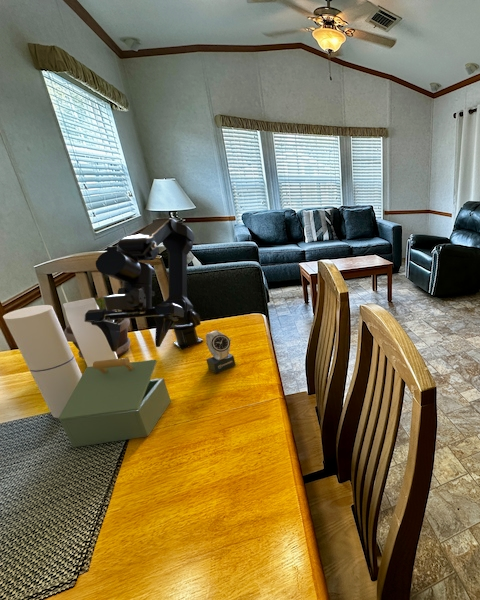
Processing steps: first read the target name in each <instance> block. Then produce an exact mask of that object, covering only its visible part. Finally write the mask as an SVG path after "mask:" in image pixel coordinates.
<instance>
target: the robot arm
mask: <svg viewBox="0 0 480 600" xmlns="http://www.w3.org/2000/svg"><path fill="white" fill-rule="evenodd" d="M194 241H195V234H194V232H193V230H191V228H190V227H189V226H188V225H185V224H183V223H182V222H181V223H180V222H179V221H177V220H175V219H174V218H171V217H157V218H153V219H152V223H150V224H149V225H147V226H146V227H145V228H144V229H142V231H140V233H138V234H133V235H129V236H125V237H123V238H120V239H119V241H118V242H117V244H116V245H113V246H106V251H104V252H102V253H101V254H100V255H99V256H98V258H97V259H96V260H95V267H96V270H97V271H98V272H99V273H101V274H103V275H105V276H107V277H110V278H113V279H115V280H117V281H121V282H122V287H119V288H118V290H117V294H111V295H106V296H105V295H104V296H105V297H104V302H105V307H106V309H95V310H88V311H87V313H86V314H85V321H84V322H89V323H91V324H92V325H95V326H98V327H99V328H100V329H101V330H102V332H103V333H104V335H105V337H106V339H107V341H108V343H109V346H110V348H111V350H112V351H113V352H116V351H117V348H118V343H119V335H120V326H121V324H116V323H117V322H118V321H119V320H120V319H127V318H130V319H136V318H137V319H138V318H146V317H147V318H148V317H153V319H154V322H155V336H154V337H155V339H154V342H155V343H154V344H155V347H156V348H160V347H161V345H162V344H163V342H164V339H166V336H167V334H168V333H169V331H171V330H172V331H173V333H174V336H175V339H176V340H175V341H173V345H175V346H176V347H177V348H179V349H180V350H185V349H187V348H190V347H192V346H196V345H199V344H200V343H203V342H204V340H203V339H202V338H200V337H199V336H198V334H197V329H196V328H197V327H198V326H201V315H200V314H199V313H198V312H196V311H195V310H194V305H193V304H192V302H191V301H190V300H189V299H188V254H190V252H191V251H192V250H193V248H194V246H193V245H194ZM161 243H162V245H163V247H164V248H165V249H166V251H167V252H168V296H167V298H166V300H162V301H161V302H160V303H157V304H156V305H155V306H153V304H152V303H153V297H155V295H156V293H155V291H154V290H153V274H155V273H156V270H155V268H154V267H152V265H151V264H150V263H148V262H147V263H146V262H142V261H154V260H155V259H157V257H158V255H159V253H160V248H159V245H161ZM113 309H116V311H113Z"/></svg>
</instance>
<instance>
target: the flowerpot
mask: <svg viewBox="0 0 480 600" xmlns="http://www.w3.org/2000/svg"><path fill="white" fill-rule="evenodd" d="M105 296H109V294H108V293H103V292H100V294H99V295H98V294H97V295H96V296H94V299H95V301H96V303H97V305H98V307H99V309H106V307H105V302H104V297H105ZM113 311H117V310H116V309H113ZM130 319H131V318H127V319H120V320H119V321H118V322H117V323H116V324H121V326H120V335H119V343H118V348H117V351H116V354H117V357H118V358H119V357H121V356H123V355H125V354H126V353H127V351H129V348H130V347H131V341H132V340H131V338H129V337H128V327H129V326H130V323H131V321H130ZM63 332H64V335H65V337H66V339H67V342H69V343H72V344H73V345H74V346H75V348H76V349H77V350H78V352H77V353H78V358H80V359H82V360H84V357H83V355H82V353H81V350H80V348H79V346H78V343H77V341H76V339H75V336H74V334H73V332H72V329H71V327H70V325H67V326H65V329H64V330H63Z"/></svg>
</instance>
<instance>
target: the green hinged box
mask: <svg viewBox="0 0 480 600" xmlns="http://www.w3.org/2000/svg"><path fill="white" fill-rule="evenodd" d="M171 403H172V399H171V397H170V394H169V391H168V388H167V384H166V382H165V379H164V378H163V377H161V378H154V379H150V381H149V384H148V386H147V389H146V392H145V394H144V397H143V399H142V402H141V405H140V407H139V410H134V411H126V412H119V413H111V414H104V415H96V416H89V417H81V418H74V419H66V420H59V421H60V424H61V426H62V429H63V430H64V432H65V434H66V436H67V438H68V441H69V442H70V444H71V446H72V448H78V447H85V446H92V445H98V444H105V443H112V442H119V441H125V440H133V439H139V438H147V437H149V436H150V434H151V433H152V431H153V430H154V428H155V427H156V425H157V424H158V422H159V420H160V419H161V417H162V416H163V414H164V413H165V411H166V410H167V408H168V407H169V406H170V404H171Z"/></svg>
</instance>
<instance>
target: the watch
mask: <svg viewBox="0 0 480 600" xmlns="http://www.w3.org/2000/svg"><path fill="white" fill-rule="evenodd" d="M205 341H206V342H205V344H206V346H207V349H208V351H209V353H210V355H212V356H211V357H209V358H206V365H207V368H208V370H210V372H212V373H214V374H215V375H217V374H220V373H222V372H224V371H226V370H228V369H230V368H232V367H235V366H236V362H235V357H234V355H233V354H231V353H230V351H231V341H232V339H231V338H230V337H229V336H227V335H225V334H224V333H223V332H221V331H218V330H212V331H211V332H207V333H206V334H205Z"/></svg>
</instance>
